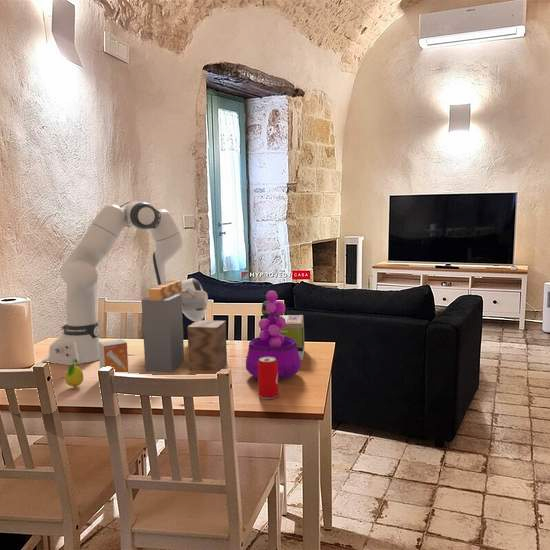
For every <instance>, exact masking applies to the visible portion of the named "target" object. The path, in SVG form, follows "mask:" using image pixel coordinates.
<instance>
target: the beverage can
mask: <svg viewBox="0 0 550 550" xmlns="http://www.w3.org/2000/svg"><path fill="white" fill-rule="evenodd" d="M257 365H258V377H257V388H258V389H257V391H258V392H257V393H258V396H259V397H260V398H261V399H263V400H272V399H276V398H277V397H278V396H279V394H280V393H279V380H278V363H277V361H276V358H275V357H261V358H259V362H258V364H257Z"/></svg>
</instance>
